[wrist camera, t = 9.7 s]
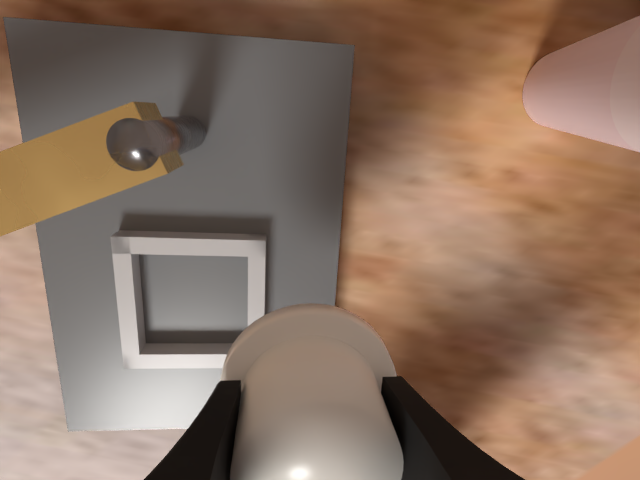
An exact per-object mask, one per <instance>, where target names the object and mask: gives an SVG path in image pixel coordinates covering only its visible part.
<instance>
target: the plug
mask: <svg viewBox="0 0 640 480" xmlns="http://www.w3.org/2000/svg"><path fill="white" fill-rule="evenodd" d="M396 376H397V375H396V371H395V367H394V364H393V362H392V359H391V357H390V355H389V353H388V351H387V348H386V346H385V344H384V342H383V340H382V339H381V337H380V336H379V334H378V333H377V332H376V331H375V330H374V328H373V327H372V326H371V325H370V324H368V323H367V322H366V321H365V320H364V319H362V318H360V317H359V316H357V315H356V314H354V313H352V312H350V311H347V310H345V309H342V308H339V307H336V306H331V305H326V304H314V303H308V304H297V305H292V306H287V307H283V308H280V309H277V310H275V311H272V312H270V313H268V314H266V315H264V316H262V317H261V318H259V319H257V320H256V321H254V322H253V323H252V324H250V325H249V326H248V327H247V328H246V329H245V330H244V331H243V332H242V333H241V334H240V335H239V336H238V337H237V339H236V340H235V341H234V343H233V344H232V346H231V348H230V349H229V351H228V353H227V356H226V358H225V361H224V365H223V369H222V374H221V379H220V381H224V380H241V398H240V406H239V413H238V420H237V426H236V432H235V439H234V447H233V455H232V462H231V470H230V480H401V478H402V474H403V464H404V461H403V453H402V449H401V446H400V443H399V440H398V437H397V435H396V432H395V429H394V426H393V424H392V421H391V418H390V416H389V413H388V410H387V407H386V405H385V402H384V399H383V397H382V394H381V387H382V377H396Z"/></svg>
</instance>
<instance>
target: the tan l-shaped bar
mask: <svg viewBox="0 0 640 480" xmlns="http://www.w3.org/2000/svg"><path fill="white" fill-rule="evenodd" d="M205 136H206V132H205V128H204V126H203V124H202V123H201V121H200V120H198V119H197V118H195V117H193V116H165V117H162V116H161V114H160V112H159V110H158V107H157V105H156V103H147V102H130V103H128V104H125V105H122V106H120V107H117V108H115V109H112V110H109V111H107V112H104V113H101V114H99V115H96V116H93V117H91V118H88V119H85V120H83V121H80V122H77V123H75V124H72V125H70V126H67V127H64V128H62V129H59V130H56V131H54V132H51V133H48V134H46V135H43V136H40V137H38V138H35V139H32V140H30V141H27V142H25V143H22V144H19V145H17V146H14V147H11V148H9V149H6V150H3V151H1V152H0V236H2V235H5V234H8V233H10V232H13V231H16V230H18V229H21V228H24V227H26V226H29V225H32V224H34V223H37V222H40V221H42V220H45V219H48V218H51V217H53V216H56V215H59V214H61V213H64V212H67V211H69V210H72V209H75V208H77V207H80V206H83V205H85V204H88V203H91V202H93V201H96V200H99V199H101V198H104V197H107V196H109V195H112V194H115V193H117V192H120V191H123V190H125V189H128V188H131V187H133V186H136V185H139V184H141V183H144V182H147V181H149V180H152V179H155V178H157V177H160V176H163V175H165V174H168V173H170V172H172V171H173V170H175V169H177V168H179V167H181V166H183V165H184V163H183V161H182V159H181V157H180V155H181V154H183V153H186V152H188V151H190V150H193V149H195V148H197V147H199V146H200V145H201V144H202V143H203V142H204V140H205Z"/></svg>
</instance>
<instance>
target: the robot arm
mask: <svg viewBox="0 0 640 480" xmlns="http://www.w3.org/2000/svg"><path fill="white" fill-rule="evenodd" d="M381 394H382V397H383V399H384V402H385V405H386V407H387V410H388V413H389V416H390V418H391V421H392V424H393V426H394V429H395V432H396V435H397V437H398V440H399V443H400V446H401V449H402V453H403V461H404V464H403V474H402V478H401V480H525V479H523V478H522V477H520V476H518V475H517V474H515V473H514V472H512V471H511V470H509V469H508V468H506V467H505V466H503V465H502V464H500V463H499V462H497V461H496V460H495V459H493V458H492V457H491V456H489V455H488V454H486V453H485V452H484V451H482V450H481V449H480V448H478V447H477V446H476V445H474V444H473V443H472V442H471V441H469V440H468V439H467V438H466V437H465V436H464V435H462V434H461V433H460V432H459V431H458V430H456V429H455V428H454V427H453V426H452V425H451V424H450V423H448V422H447V421H446V420H445V419H444V418H443V417H442V416H441V415H440V414H439V413H438V412H437V411H435V410H434V409H433V408H432V407H431V406H430V405H429V404H428V403H427V402H426V401H425V400H424V399H423V398H422V397H421V396H420V395H419V394H418V393H417V392H416V391H415V390H414V389H413V388H412V387H411V386H410V385H409V384H408V383H407V382H406V381H405V380H404V379H403V378H402V377H401V376H396V377H382V387H381ZM240 398H241V380H224V381H220V382H219V383H218V384H217V385H216V387H215V389H214V391H213V392H212V394H211V396H210V397H209V399H208V401H207V402H206V404H205V405H204V407H203V408H202V410H201V411H200V413H199V414H198V415H197V417H196V418H195V420H194V421H193V422H192V424H191V425H190V427H189V428H188V429H187V431H186V432H185V433H184V434H183V436H182V437H181V438H180V439H179V441H178V442H177V443H176V444H175V445H174V447H173V448H172V449H171V450H170V452H169V453H168V454H167V455H166V456H165V457H164V459H163V460H162V461H161V462H160V463H159V464H158V465H157V466H156V467H155V468H154V469H153V470H152V472H151V473H150V474H149V475H148V476H147V477H146V478H145V479H144V480H230V470H231V462H232V455H233V447H234V439H235V432H236V426H237V420H238V413H239V406H240Z"/></svg>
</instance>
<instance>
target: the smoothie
mask: <svg viewBox="0 0 640 480" xmlns="http://www.w3.org/2000/svg"><path fill="white" fill-rule="evenodd" d="M523 104H524V108H525V110H526V112H527V114H528V116H529V117H530V118H531V119H532V120H533V121H534V122H536V123H537V124H539V125H542V126H545V127H549V128H553V129H556V130H560V131H563V132H567V133H571V134H574V135H578V136H582V137H585V138H589V139H593V140H596V141H600V142H604V143H607V144H611V145H615V146H618V147H622V148H626V149H629V150H633V151H637V152H640V16H638V17H635V18H633V19H630V20H628V21H626V22H623V23H621V24H619V25H616V26H614V27H611V28H609V29H607V30H604V31H602V32H600V33H597V34H595V35H592V36H590V37H588V38H585V39H583V40H581V41H578V42H576V43H573V44H571V45H569V46H566V47H564V48H561V49H559V50H557V51H554V52H552V53H550V54H548V55H546V56H544V57H543V58H541V59H540V60H539V61H538V62H537V63H536V64H535V65H534V66H533V67H532V69H531V70H530V72H529V73H528V75H527V78H526V80H525V83H524V87H523Z"/></svg>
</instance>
